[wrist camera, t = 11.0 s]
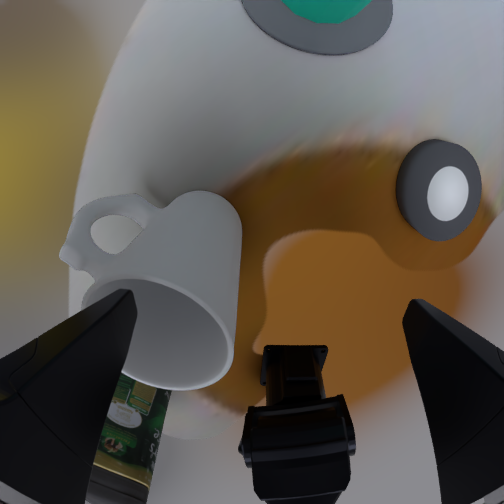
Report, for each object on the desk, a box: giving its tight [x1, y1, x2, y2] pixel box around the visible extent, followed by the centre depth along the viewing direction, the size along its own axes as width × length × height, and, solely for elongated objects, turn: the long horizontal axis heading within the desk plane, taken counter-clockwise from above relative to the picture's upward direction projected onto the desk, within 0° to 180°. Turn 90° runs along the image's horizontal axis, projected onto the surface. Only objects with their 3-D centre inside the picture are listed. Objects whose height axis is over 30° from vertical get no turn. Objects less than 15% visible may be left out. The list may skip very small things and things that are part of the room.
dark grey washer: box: [396, 139, 482, 241], centre depth 18 cm, size 8×8×2 cm
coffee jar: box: [85, 372, 172, 504], centre depth 21 cm, size 10×8×19 cm
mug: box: [59, 191, 242, 390], centre depth 15 cm, size 10×7×12 cm, turn 49°
